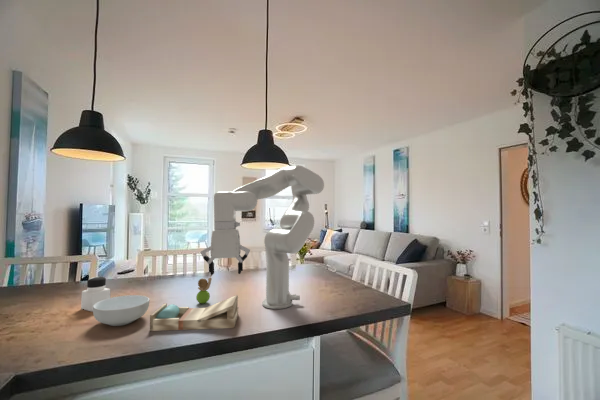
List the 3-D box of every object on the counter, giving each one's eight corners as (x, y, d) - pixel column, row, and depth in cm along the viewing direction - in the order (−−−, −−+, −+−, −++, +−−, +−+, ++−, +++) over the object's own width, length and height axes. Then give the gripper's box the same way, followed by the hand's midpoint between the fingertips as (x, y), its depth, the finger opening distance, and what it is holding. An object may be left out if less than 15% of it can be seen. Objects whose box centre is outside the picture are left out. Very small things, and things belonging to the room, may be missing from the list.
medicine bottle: (110, 306, 116) (111, 276, 116) (91, 311, 109) (92, 280, 110) (99, 303, 119) (100, 275, 119) (80, 309, 112) (81, 278, 113)
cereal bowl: (106, 336, 88) (107, 313, 89) (83, 324, 97) (84, 303, 97) (158, 318, 103) (159, 299, 103) (134, 310, 111) (134, 292, 112)
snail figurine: (207, 305, 117) (208, 276, 117) (193, 304, 118) (194, 275, 119) (214, 301, 122) (214, 273, 123) (200, 300, 123) (201, 273, 124)
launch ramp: (238, 314, 107) (238, 294, 107) (233, 327, 95) (234, 305, 95) (163, 317, 104) (164, 296, 104) (149, 330, 92) (150, 307, 92)
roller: (175, 301, 103) (162, 308, 102) (166, 309, 95) (152, 317, 94) (181, 313, 103) (169, 320, 102) (173, 322, 95) (160, 330, 94)
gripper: (250, 224, 106) (251, 270, 106) (203, 226, 105) (203, 272, 105) (248, 226, 99) (249, 275, 99) (197, 227, 97) (198, 277, 97)
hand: (226, 273), depth 102 cm, fingers open, 9 cm apart
